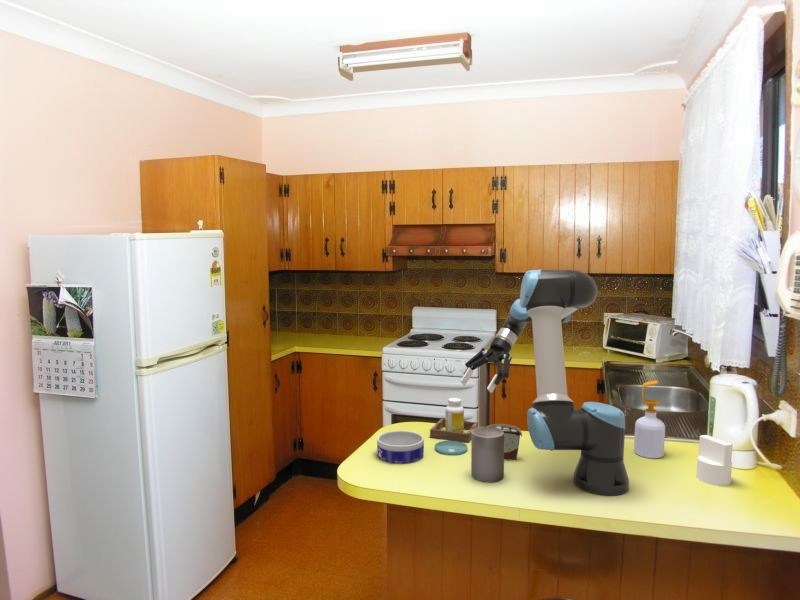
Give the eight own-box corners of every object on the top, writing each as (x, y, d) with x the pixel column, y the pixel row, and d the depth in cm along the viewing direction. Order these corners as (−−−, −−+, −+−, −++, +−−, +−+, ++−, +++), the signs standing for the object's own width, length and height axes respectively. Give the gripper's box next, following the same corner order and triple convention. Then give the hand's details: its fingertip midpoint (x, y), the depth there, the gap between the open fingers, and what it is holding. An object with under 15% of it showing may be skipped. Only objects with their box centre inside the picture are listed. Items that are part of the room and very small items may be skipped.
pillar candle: (495, 467, 179) (495, 420, 177) (509, 480, 169) (509, 430, 168) (465, 471, 176) (466, 423, 174) (478, 484, 167) (478, 434, 165)
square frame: (468, 442, 200) (468, 434, 200) (430, 437, 205) (430, 429, 205) (477, 430, 213) (477, 422, 213) (441, 425, 218) (441, 418, 218)
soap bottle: (664, 460, 185) (669, 385, 182) (634, 456, 188) (637, 383, 185) (662, 450, 193) (666, 379, 191) (633, 447, 196) (636, 376, 194)
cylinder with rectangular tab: (689, 475, 173) (691, 437, 172) (710, 471, 177) (712, 433, 175) (716, 487, 165) (718, 447, 163) (737, 482, 168) (740, 442, 167)
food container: (519, 453, 190) (520, 424, 189) (521, 460, 184) (522, 430, 183) (481, 452, 192) (482, 422, 191) (482, 459, 186) (483, 428, 185)
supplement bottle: (467, 434, 209) (467, 399, 208) (456, 438, 204) (456, 403, 203) (452, 429, 214) (453, 396, 212) (441, 434, 209) (441, 399, 208)
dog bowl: (367, 454, 189) (367, 437, 189) (402, 443, 200) (402, 427, 199) (398, 468, 178) (398, 449, 177) (433, 456, 188) (433, 438, 188)
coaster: (462, 457, 187) (462, 454, 187) (430, 452, 191) (430, 449, 191) (470, 445, 197) (470, 443, 197) (440, 441, 201) (440, 439, 201)
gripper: (533, 353, 214) (506, 400, 206) (483, 343, 233) (456, 386, 226) (524, 341, 210) (496, 388, 203) (475, 332, 230) (447, 374, 222)
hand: (475, 387), depth 214 cm, fingers open, 13 cm apart
